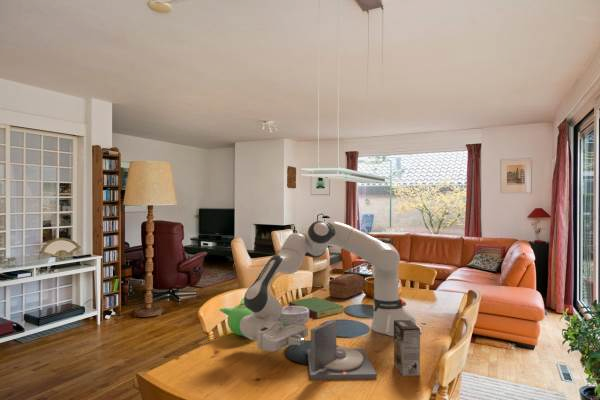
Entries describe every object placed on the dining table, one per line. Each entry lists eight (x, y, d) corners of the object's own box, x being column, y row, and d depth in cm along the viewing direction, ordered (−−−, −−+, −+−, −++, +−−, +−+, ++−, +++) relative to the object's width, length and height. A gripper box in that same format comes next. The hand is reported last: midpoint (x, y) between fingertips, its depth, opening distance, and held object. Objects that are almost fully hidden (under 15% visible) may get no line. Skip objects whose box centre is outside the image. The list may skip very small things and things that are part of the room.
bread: (325, 297, 232) (325, 277, 232) (348, 289, 254) (348, 271, 254) (344, 301, 223) (344, 280, 223) (367, 292, 246) (367, 273, 246)
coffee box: (393, 364, 135) (393, 319, 136) (410, 364, 136) (410, 319, 136) (402, 376, 126) (402, 328, 126) (420, 375, 127) (420, 327, 127)
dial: (332, 347, 147) (332, 308, 147) (371, 358, 137) (371, 317, 137) (292, 369, 128) (292, 325, 128) (334, 383, 118) (334, 335, 118)
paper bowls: (288, 319, 188) (288, 303, 188) (314, 324, 181) (314, 307, 181) (270, 328, 175) (270, 311, 175) (298, 333, 167) (298, 316, 168)
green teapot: (247, 344, 155) (247, 308, 155) (217, 336, 164) (217, 302, 164) (273, 331, 170) (273, 299, 170) (244, 325, 179) (244, 294, 179)
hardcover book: (288, 308, 209) (288, 301, 209) (314, 303, 220) (314, 296, 220) (317, 320, 189) (317, 312, 189) (344, 313, 200) (344, 306, 200)
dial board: (363, 352, 147) (363, 347, 147) (376, 378, 125) (376, 373, 125) (307, 352, 146) (307, 348, 146) (310, 379, 124) (310, 374, 124)
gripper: (291, 334, 150) (319, 342, 142) (254, 350, 134) (284, 360, 126) (291, 318, 150) (319, 325, 142) (254, 332, 134) (284, 341, 126)
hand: (302, 341), depth 134 cm, fingers closed
